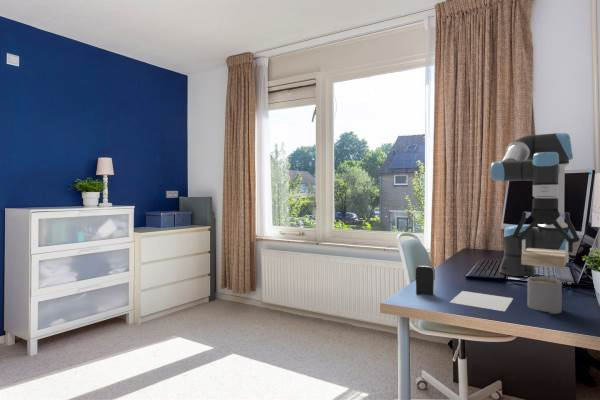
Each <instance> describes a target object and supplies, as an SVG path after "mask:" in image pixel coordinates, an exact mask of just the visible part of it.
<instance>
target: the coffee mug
mask: <svg viewBox="0 0 600 400" xmlns="http://www.w3.org/2000/svg"><path fill="white" fill-rule="evenodd" d="M562 291H563V282H562V280H560V279H558V278H557V279H556V278H552V277H547V276H534V277H527V298H526V299H527V300H526V301H527V307H528V308H530V309H532V310H536V311H539V312H547V313H548V314H551V315H555V314H560V313H562V305H563V304H562V303H563V300H562V299H563V298H562V297H563V292H562Z"/></svg>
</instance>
